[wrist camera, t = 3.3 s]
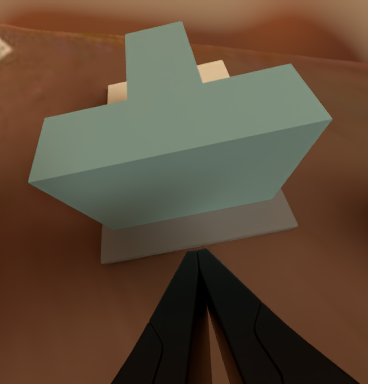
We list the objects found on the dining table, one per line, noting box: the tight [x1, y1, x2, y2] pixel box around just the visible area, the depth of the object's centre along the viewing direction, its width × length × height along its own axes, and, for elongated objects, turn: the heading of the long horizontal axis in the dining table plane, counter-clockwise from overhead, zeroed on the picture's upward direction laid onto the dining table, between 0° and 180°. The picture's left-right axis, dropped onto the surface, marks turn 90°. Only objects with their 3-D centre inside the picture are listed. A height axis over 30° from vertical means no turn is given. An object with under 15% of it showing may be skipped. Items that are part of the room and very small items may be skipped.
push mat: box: [100, 60, 298, 264], centre depth 19 cm, size 22×15×1 cm
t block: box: [28, 21, 332, 230], centre depth 14 cm, size 11×13×8 cm
